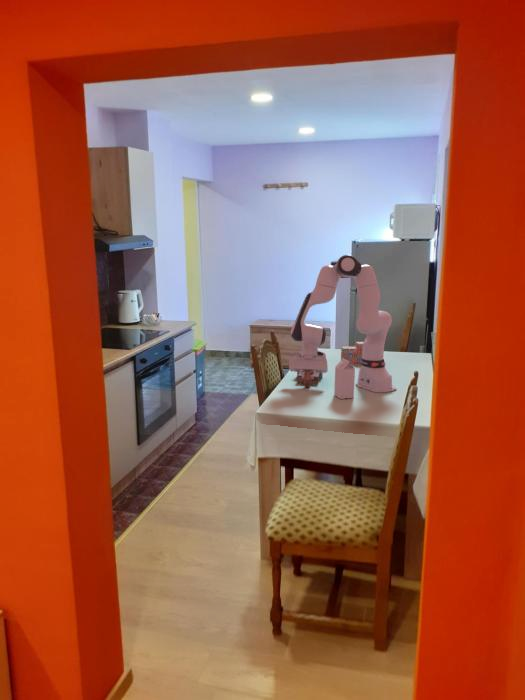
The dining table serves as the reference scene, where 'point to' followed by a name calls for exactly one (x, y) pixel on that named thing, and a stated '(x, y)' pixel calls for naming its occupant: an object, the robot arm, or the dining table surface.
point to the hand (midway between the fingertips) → (307, 378)
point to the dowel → (307, 378)
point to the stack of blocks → (352, 353)
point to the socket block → (313, 381)
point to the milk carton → (344, 380)
